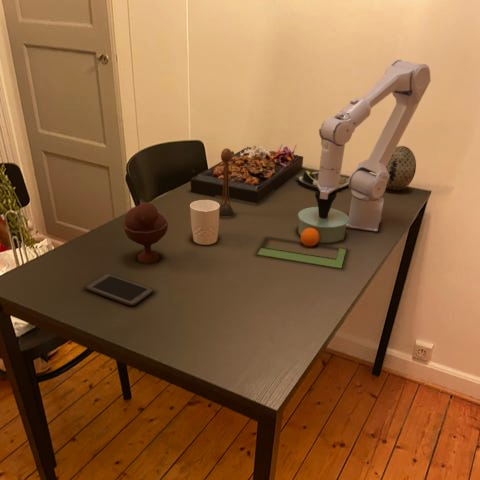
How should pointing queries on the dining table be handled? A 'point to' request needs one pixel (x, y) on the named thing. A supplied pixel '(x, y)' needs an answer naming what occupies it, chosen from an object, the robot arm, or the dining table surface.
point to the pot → (325, 232)
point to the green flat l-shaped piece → (305, 257)
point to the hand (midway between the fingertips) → (323, 215)
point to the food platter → (249, 174)
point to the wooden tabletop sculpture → (226, 183)
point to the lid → (332, 220)
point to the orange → (309, 237)
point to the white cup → (205, 221)
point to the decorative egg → (401, 168)
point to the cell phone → (119, 289)
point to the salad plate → (309, 178)
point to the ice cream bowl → (145, 229)
